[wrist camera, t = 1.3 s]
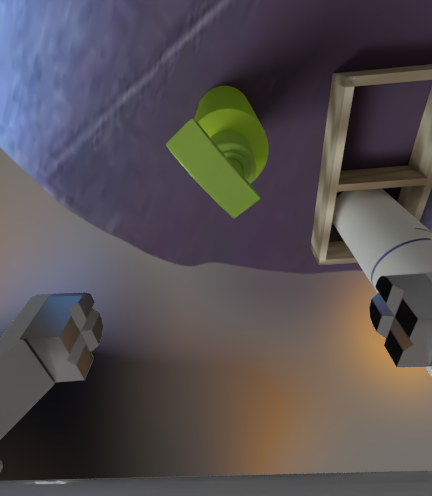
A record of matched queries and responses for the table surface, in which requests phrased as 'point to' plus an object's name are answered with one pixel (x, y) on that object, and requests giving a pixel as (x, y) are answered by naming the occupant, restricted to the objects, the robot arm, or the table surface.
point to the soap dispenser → (223, 148)
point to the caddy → (334, 180)
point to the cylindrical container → (382, 235)
